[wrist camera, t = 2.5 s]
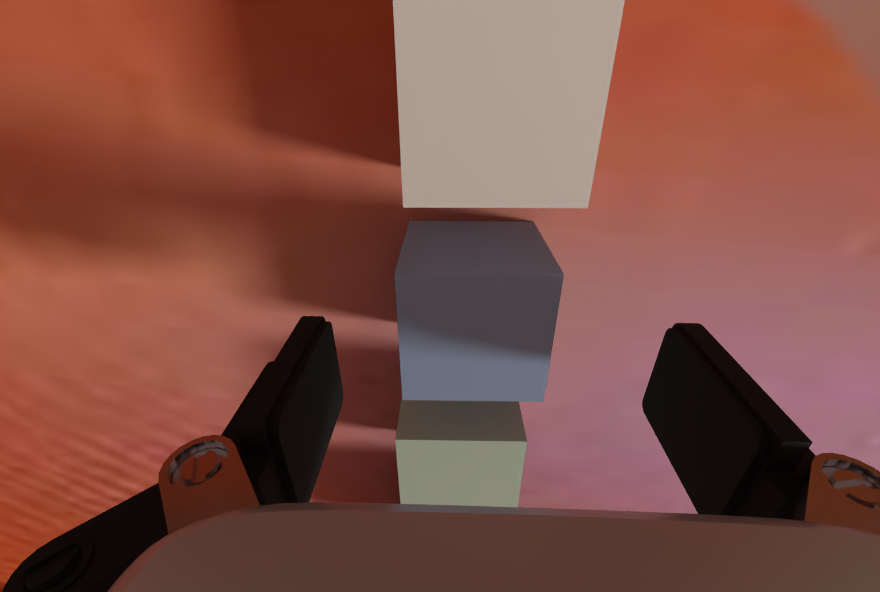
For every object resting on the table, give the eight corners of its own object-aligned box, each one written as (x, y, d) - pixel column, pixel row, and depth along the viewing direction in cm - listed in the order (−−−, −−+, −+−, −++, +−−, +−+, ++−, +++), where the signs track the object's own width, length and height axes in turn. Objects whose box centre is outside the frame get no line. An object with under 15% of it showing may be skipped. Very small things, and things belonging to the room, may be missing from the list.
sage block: (502, 432, 22) (515, 521, 18) (411, 430, 22) (401, 519, 18) (509, 359, 20) (526, 441, 15) (407, 358, 20) (395, 439, 15)
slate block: (521, 324, 19) (543, 401, 14) (413, 324, 19) (402, 400, 14) (532, 220, 16) (564, 274, 12) (409, 220, 16) (394, 273, 12)
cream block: (548, 169, 15) (587, 207, 11) (416, 169, 15) (402, 207, 11) (568, 8, 13) (629, -27, 8) (411, 9, 13) (391, -24, 9)
